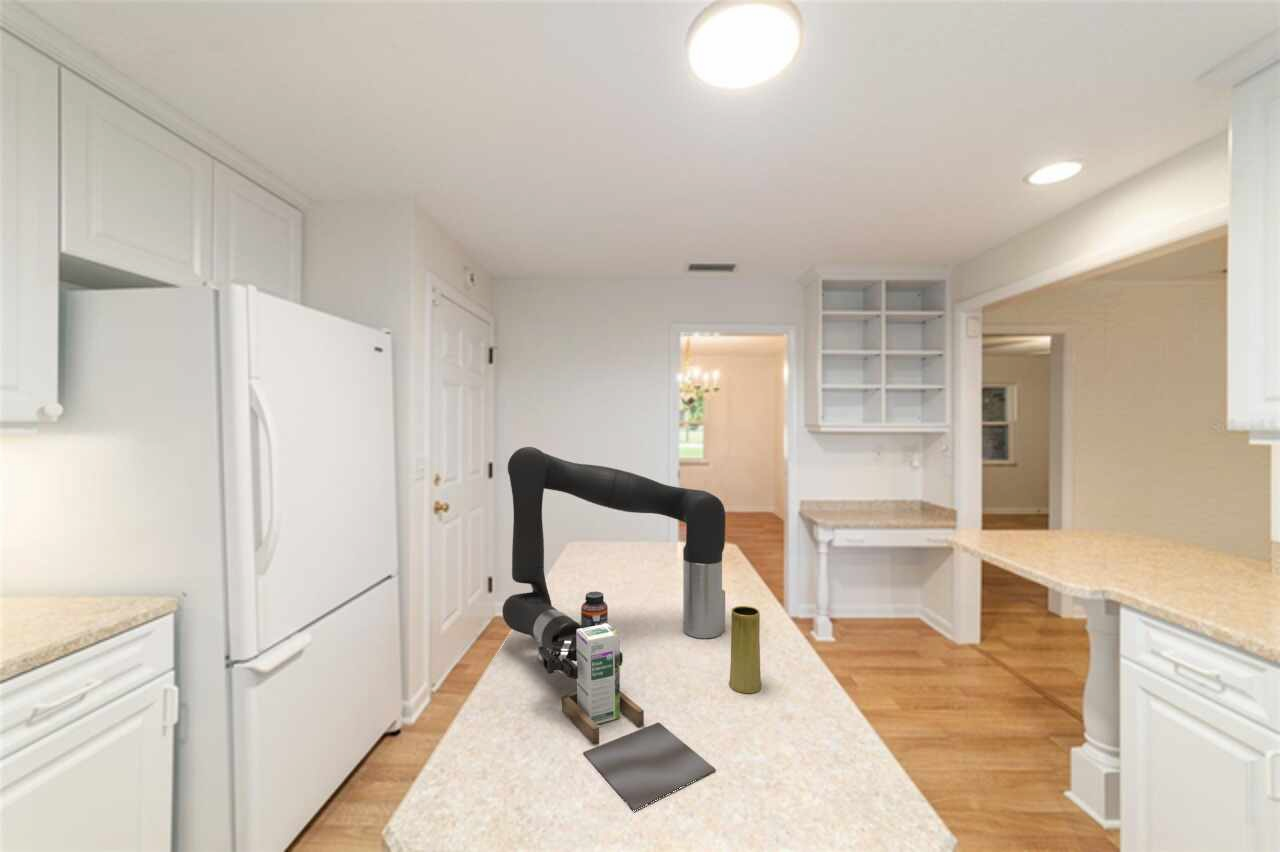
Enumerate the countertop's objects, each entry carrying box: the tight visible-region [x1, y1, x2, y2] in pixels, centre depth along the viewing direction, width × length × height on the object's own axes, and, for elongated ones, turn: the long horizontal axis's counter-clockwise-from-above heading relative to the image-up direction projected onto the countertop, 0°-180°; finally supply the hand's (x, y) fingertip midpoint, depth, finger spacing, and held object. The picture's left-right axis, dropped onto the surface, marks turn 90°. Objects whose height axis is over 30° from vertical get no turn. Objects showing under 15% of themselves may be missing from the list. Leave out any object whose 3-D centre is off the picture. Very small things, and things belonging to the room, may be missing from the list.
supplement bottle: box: [580, 591, 609, 628], centre depth 117 cm, size 6×6×11 cm
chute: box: [561, 690, 717, 811], centre depth 81 cm, size 26×14×2 cm, turn 34°
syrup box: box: [576, 622, 621, 725], centre depth 89 cm, size 6×6×14 cm
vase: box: [728, 605, 763, 694], centre depth 98 cm, size 6×6×14 cm
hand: (598, 667), depth 88 cm, fingers open, 8 cm apart
